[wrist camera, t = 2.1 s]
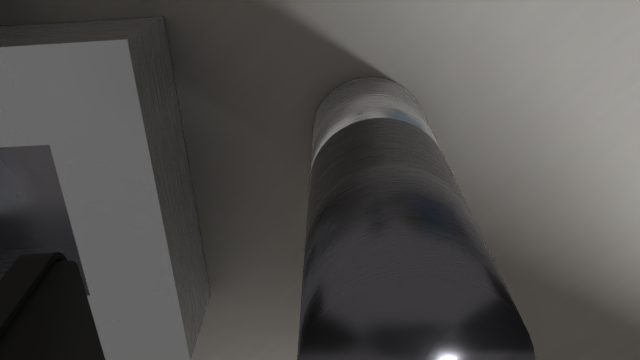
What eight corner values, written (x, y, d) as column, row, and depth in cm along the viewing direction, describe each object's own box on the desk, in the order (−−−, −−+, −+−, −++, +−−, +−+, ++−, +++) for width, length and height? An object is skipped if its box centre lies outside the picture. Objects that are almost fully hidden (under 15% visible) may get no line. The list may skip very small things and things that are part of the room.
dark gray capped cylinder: (424, 179, 20) (524, 457, 10) (317, 185, 20) (305, 464, 10) (425, 73, 18) (546, 269, 8) (309, 80, 18) (286, 282, 8)
